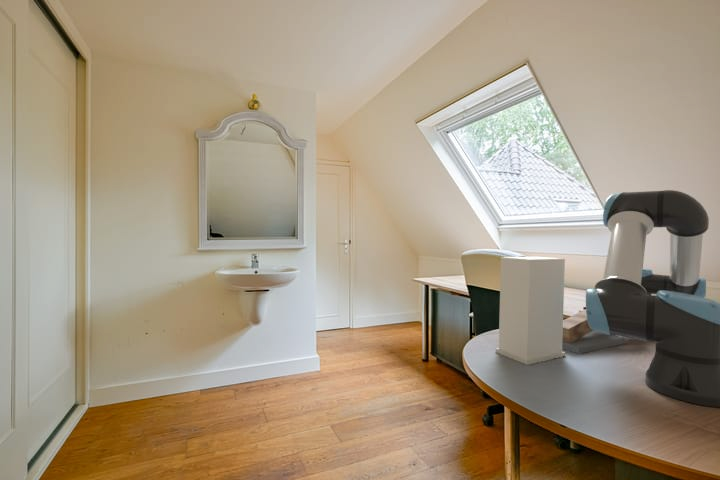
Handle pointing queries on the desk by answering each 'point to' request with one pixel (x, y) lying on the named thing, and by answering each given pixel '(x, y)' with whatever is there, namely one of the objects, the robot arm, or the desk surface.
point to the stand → (531, 308)
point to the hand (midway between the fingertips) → (588, 316)
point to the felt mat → (593, 342)
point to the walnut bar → (575, 327)
